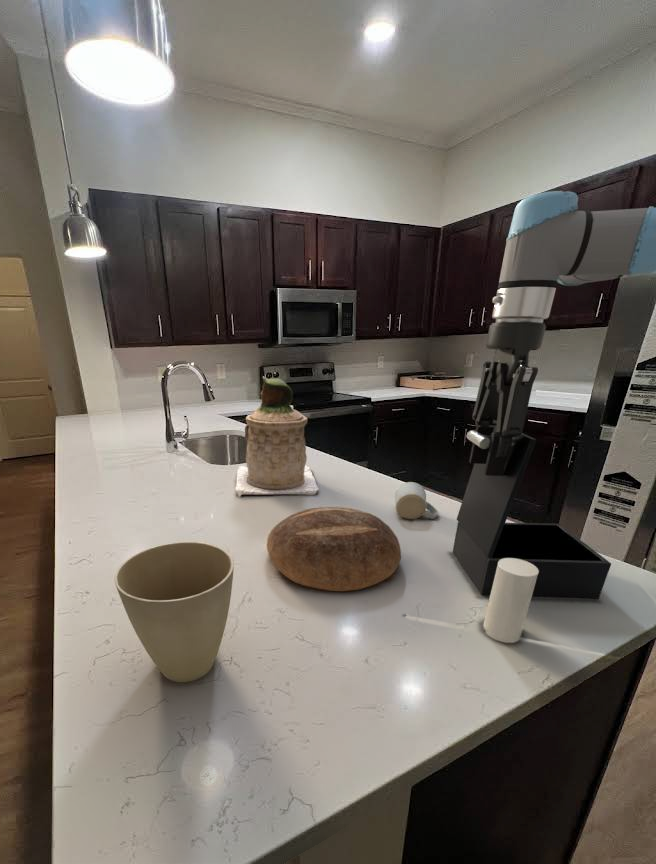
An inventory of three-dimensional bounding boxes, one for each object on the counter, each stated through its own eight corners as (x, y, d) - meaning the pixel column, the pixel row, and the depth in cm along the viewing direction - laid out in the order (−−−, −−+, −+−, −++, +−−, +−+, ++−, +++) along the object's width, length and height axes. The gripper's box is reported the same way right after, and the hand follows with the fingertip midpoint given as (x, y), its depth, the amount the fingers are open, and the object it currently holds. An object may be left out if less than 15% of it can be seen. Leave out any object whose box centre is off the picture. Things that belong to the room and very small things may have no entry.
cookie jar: (320, 496, 120) (324, 379, 107) (234, 498, 119) (228, 381, 106) (310, 469, 142) (312, 371, 130) (237, 471, 142) (233, 372, 129)
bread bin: (549, 557, 86) (559, 523, 83) (597, 602, 72) (611, 563, 69) (451, 555, 88) (457, 521, 85) (480, 599, 73) (489, 560, 70)
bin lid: (493, 419, 76) (461, 415, 76) (536, 439, 62) (497, 434, 62) (460, 519, 84) (431, 516, 84) (491, 558, 70) (457, 553, 70)
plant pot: (243, 629, 67) (239, 540, 60) (233, 706, 53) (225, 602, 47) (150, 628, 67) (136, 540, 61) (116, 705, 53) (94, 601, 47)
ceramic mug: (394, 519, 104) (397, 491, 101) (393, 507, 111) (396, 480, 108) (439, 524, 102) (444, 495, 99) (435, 511, 109) (440, 483, 106)
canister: (516, 626, 67) (534, 560, 62) (522, 647, 62) (542, 579, 57) (481, 619, 68) (495, 555, 63) (484, 640, 64) (500, 572, 59)
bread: (262, 534, 97) (261, 495, 93) (374, 528, 100) (377, 490, 96) (274, 600, 74) (273, 551, 70) (420, 590, 76) (427, 542, 72)
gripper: (469, 322, 72) (445, 453, 81) (522, 319, 54) (484, 486, 64) (514, 322, 71) (485, 454, 80) (582, 320, 54) (535, 488, 63)
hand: (484, 468), depth 72 cm, fingers closed on bin lid, 6 cm apart
